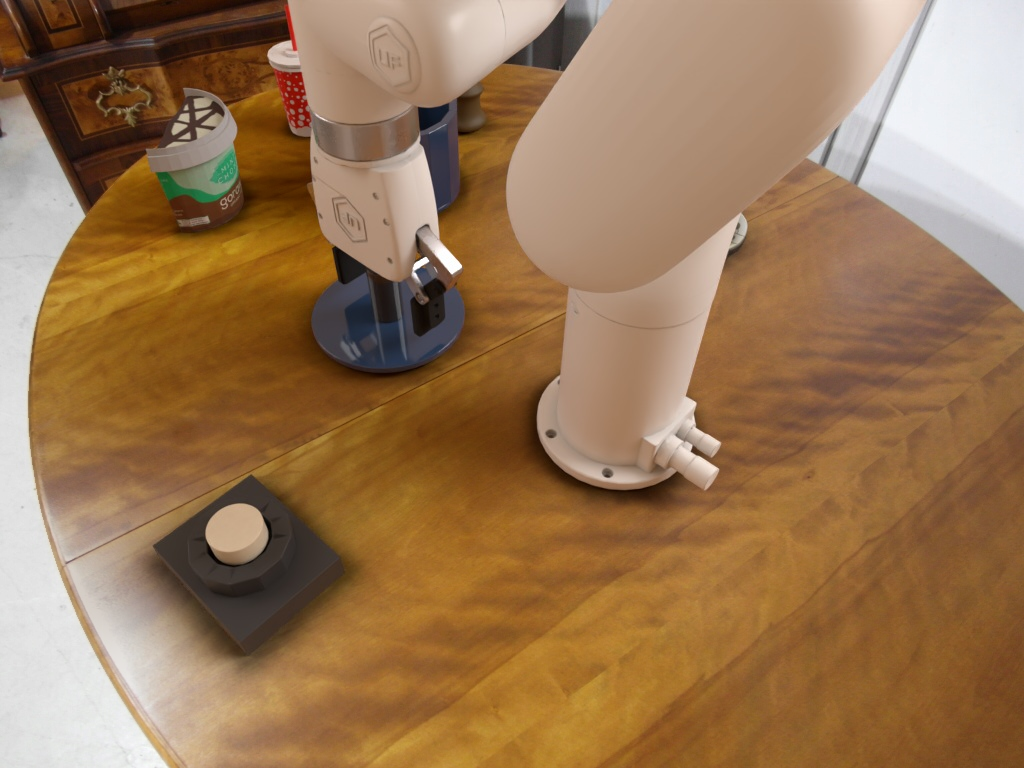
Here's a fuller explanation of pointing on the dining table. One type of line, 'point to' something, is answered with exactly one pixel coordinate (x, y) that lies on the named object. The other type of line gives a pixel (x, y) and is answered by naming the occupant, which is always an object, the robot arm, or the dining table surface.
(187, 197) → the food container
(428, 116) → the jar
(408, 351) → the jar lid
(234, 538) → the release button
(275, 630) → the button block
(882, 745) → the dining table surface
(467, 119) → the kendama
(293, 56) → the beverage cup
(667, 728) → the dining table surface
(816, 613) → the dining table surface
